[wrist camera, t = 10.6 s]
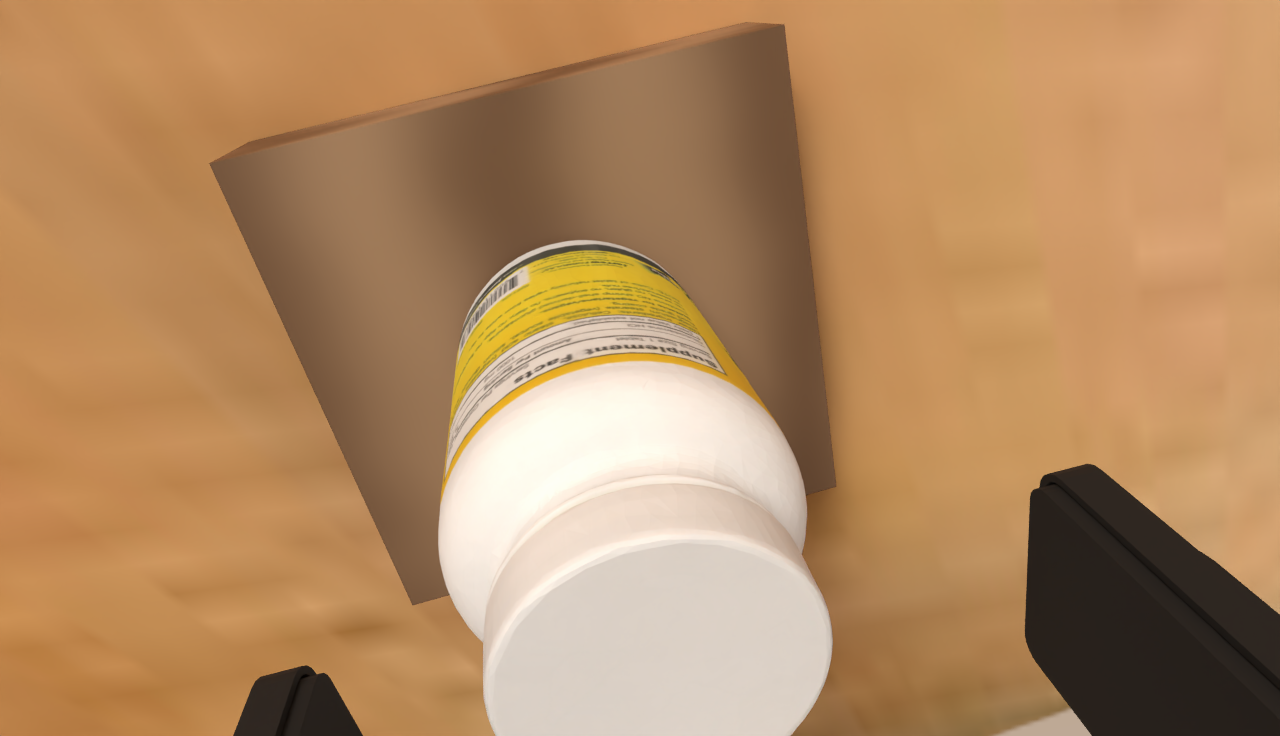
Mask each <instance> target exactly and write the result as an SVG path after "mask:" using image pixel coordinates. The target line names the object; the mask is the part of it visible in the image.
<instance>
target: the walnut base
mask: <svg viewBox="0 0 1280 736" xmlns="http://www.w3.org/2000/svg"><path fill="white" fill-rule="evenodd" d="M209 164H210V166H211V168H212V170H213V172H214V175H215V177H216V179H217V181H218V183H219V185H220V188H221V190H222V192H223V194H224V196H225V199H226V201H227V203H228V205H229V207H230V209H231V212H232V214H233V216H234V218H235V220H236V222H237V225H238V227H239V229H240V231H241V233H242V235H243V238H244V240H245V242H246V244H247V246H248V249H249V251H250V253H251V255H252V257H253V259H254V262H255V264H256V266H257V268H258V270H259V272H260V275H261V277H262V279H263V281H264V283H265V285H266V288H267V290H268V292H269V294H270V296H271V298H272V301H273V303H274V305H275V307H276V309H277V312H278V314H279V316H280V318H281V320H282V322H283V325H284V327H285V329H286V331H287V333H288V335H289V338H290V340H291V342H292V344H293V346H294V348H295V351H296V353H297V355H298V357H299V359H300V362H301V364H302V366H303V368H304V370H305V372H306V375H307V377H308V379H309V381H310V383H311V385H312V388H313V390H314V392H315V394H316V396H317V398H318V401H319V403H320V405H321V407H322V409H323V412H324V414H325V416H326V418H327V420H328V422H329V425H330V427H331V429H332V431H333V433H334V435H335V438H336V440H337V442H338V444H339V446H340V448H341V451H342V453H343V455H344V457H345V459H346V461H347V464H348V466H349V468H350V470H351V472H352V475H353V477H354V479H355V481H356V483H357V485H358V488H359V490H360V492H361V494H362V496H363V498H364V501H365V503H366V505H367V507H368V509H369V511H370V514H371V516H372V518H373V520H374V522H375V525H376V527H377V529H378V531H379V533H380V535H381V538H382V540H383V542H384V544H385V546H386V548H387V551H388V553H389V555H390V557H391V559H392V561H393V564H394V566H395V568H396V570H397V572H398V575H399V577H400V579H401V581H402V583H403V585H404V588H405V590H406V592H407V594H408V596H409V598H410V601H411V603H412V605H416V604H419V603H423V602H426V601H430V600H433V599H437V598H441V597H444V596H448V595H450V594H449V592H448V589H447V587H446V584H445V580H444V577H443V573H442V569H441V564H440V559H439V548H438V529H439V515H440V502H441V491H442V483H443V475H444V467H445V459H446V450H447V442H448V432H449V425H450V416H451V406H452V396H453V387H454V378H455V369H456V360H457V353H458V346H459V341H460V337H461V333H462V329H463V325H464V322H465V320H466V317H467V315H468V312H469V310H470V308H471V306H472V305H473V303H474V301H475V299H476V298H477V296H478V295H479V294H480V292H481V291H482V289H483V288H484V287H485V286H486V285H487V283H488V282H489V281H490V280H491V279H492V278H493V277H494V276H495V275H496V274H497V273H498V272H499V271H500V270H501V269H503V268H504V267H505V266H506V265H508V264H509V263H511V262H512V261H514V260H515V259H517V258H518V257H520V256H522V255H524V254H526V253H528V252H530V251H533V250H535V249H538V248H540V247H543V246H547V245H551V244H555V243H560V242H565V241H574V240H593V241H601V242H608V243H612V244H616V245H620V246H623V247H626V248H629V249H631V250H634V251H636V252H638V253H640V254H643V255H645V256H646V257H648V258H650V259H652V260H653V261H655V262H656V263H657V264H659V265H660V266H661V267H663V268H664V269H665V270H666V271H667V272H668V273H669V274H670V275H671V276H672V277H673V278H674V279H675V280H676V281H677V282H678V283H679V285H680V286H681V287H682V288H683V289H684V291H685V292H686V293H687V294H688V296H689V297H690V298H691V300H692V301H693V303H694V304H695V305H696V307H697V309H698V310H699V311H700V313H701V314H702V316H703V317H704V318H705V320H706V321H707V323H708V324H709V325H710V327H711V328H712V330H713V331H714V333H715V334H716V336H717V337H718V338H719V340H720V341H721V343H722V344H723V346H724V347H725V349H726V350H727V352H728V353H729V354H730V356H731V357H732V359H733V360H734V361H735V363H736V364H737V366H738V367H739V369H740V370H741V371H742V373H743V374H744V375H745V377H746V379H747V380H748V382H749V383H750V385H751V386H752V388H753V389H754V391H755V392H756V394H757V395H758V397H759V398H760V399H761V401H762V402H763V404H764V405H765V407H766V408H767V410H768V411H769V412H770V414H771V415H772V417H773V418H774V420H775V421H776V423H777V424H778V426H779V427H780V429H781V431H782V432H783V434H784V436H785V438H786V440H787V442H788V444H789V446H790V448H791V450H792V452H793V454H794V456H795V458H796V461H797V464H798V466H799V469H800V472H801V476H802V479H803V483H804V489H805V495H808V494H812V493H815V492H819V491H822V490H826V489H829V488H833V487H836V479H835V470H834V462H833V453H832V444H831V435H830V426H829V417H828V408H827V399H826V390H825V382H824V373H823V364H822V355H821V346H820V337H819V328H818V319H817V310H816V302H815V293H814V284H813V275H812V266H811V257H810V248H809V239H808V230H807V222H806V213H805V204H804V195H803V186H802V177H801V168H800V159H799V150H798V142H797V133H796V124H795V115H794V106H793V97H792V88H791V79H790V70H789V62H788V53H787V44H786V35H785V26H784V24H766V23H748V22H745V23H741V24H737V25H733V26H729V27H725V28H720V29H716V30H712V31H708V32H704V33H700V34H696V35H691V36H687V37H683V38H679V39H675V40H671V41H666V42H662V43H658V44H654V45H650V46H646V47H642V48H637V49H633V50H629V51H625V52H621V53H617V54H612V55H608V56H604V57H600V58H596V59H592V60H588V61H583V62H579V63H575V64H571V65H567V66H563V67H558V68H554V69H550V70H546V71H542V72H538V73H534V74H529V75H525V76H521V77H517V78H513V79H509V80H505V81H500V82H496V83H492V84H488V85H484V86H480V87H475V88H471V89H467V90H463V91H459V92H455V93H451V94H446V95H442V96H438V97H434V98H430V99H426V100H421V101H417V102H413V103H409V104H405V105H401V106H397V107H392V108H388V109H384V110H380V111H376V112H372V113H367V114H363V115H359V116H355V117H351V118H347V119H343V120H338V121H334V122H330V123H326V124H322V125H318V126H313V127H309V128H305V129H301V130H297V131H293V132H289V133H284V134H280V135H276V136H272V137H268V138H264V139H259V140H255V141H251V142H248V143H247V144H245V145H243V146H241V147H239V148H237V149H235V150H234V151H232V152H230V153H228V154H226V155H224V156H222V157H221V158H219V159H217V160H215V161H213V162H211V163H209Z"/></svg>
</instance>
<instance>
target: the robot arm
mask: <svg viewBox="0 0 1280 736" xmlns="http://www.w3.org/2000/svg"><path fill="white" fill-rule="evenodd" d="M1025 638H1026V642H1027V645H1028V648H1029V650H1030V652H1031V654H1032V656H1033V658H1034V660H1035V661H1036V663H1037V664H1038V665H1039V667H1040V668H1041V669H1042V671H1043V672H1044V673H1045V675H1046V676H1047V677H1048V679H1049V680H1050V681H1051V682H1052V684H1053V685H1054V686H1055V688H1056V689H1057V690H1058V692H1059V693H1060V694H1061V696H1062V697H1063V698H1064V700H1065V701H1066V702H1067V703H1068V705H1069V706H1070V707H1071V709H1072V710H1073V711H1074V713H1075V714H1076V715H1077V717H1078V718H1079V719H1080V720H1081V722H1082V723H1083V724H1084V726H1085V727H1086V728H1087V730H1088V731H1089V732H1090V734H1091V735H1092V736H1280V615H1279V614H1278V613H1277V612H1276V611H1275V610H1273V609H1272V608H1271V607H1270V606H1268V605H1267V604H1266V603H1265V602H1264V601H1262V600H1261V599H1260V598H1259V597H1258V596H1256V595H1255V594H1254V593H1253V592H1252V591H1250V590H1249V589H1248V588H1247V587H1245V586H1244V585H1243V584H1242V583H1241V582H1239V581H1238V580H1237V579H1236V578H1235V577H1233V576H1232V575H1231V574H1230V573H1229V572H1227V571H1226V570H1225V569H1224V568H1222V567H1221V566H1220V565H1219V564H1218V563H1216V562H1215V561H1214V560H1212V559H1211V558H1209V557H1208V556H1206V555H1205V554H1203V553H1202V552H1200V551H1198V550H1197V549H1196V548H1195V547H1194V546H1192V545H1191V544H1190V543H1189V542H1188V541H1186V540H1185V539H1184V538H1183V537H1181V536H1180V535H1179V534H1178V533H1177V532H1175V531H1174V530H1173V529H1172V528H1171V527H1169V526H1168V525H1167V524H1166V523H1165V522H1163V521H1162V520H1161V519H1160V518H1159V517H1157V516H1156V515H1155V514H1154V513H1153V512H1151V511H1150V510H1149V509H1148V508H1147V507H1145V506H1144V505H1143V504H1142V503H1141V502H1139V501H1138V500H1137V499H1136V498H1135V497H1133V496H1132V495H1131V494H1130V493H1129V492H1127V491H1126V490H1125V489H1124V488H1123V487H1121V486H1120V485H1119V484H1118V483H1117V482H1115V481H1114V480H1113V479H1112V478H1110V477H1109V476H1108V475H1107V474H1106V473H1104V472H1103V471H1102V470H1101V469H1099V468H1098V467H1096V466H1095V465H1091V464H1085V465H1081V466H1077V467H1073V468H1069V469H1065V470H1062V471H1058V472H1054V473H1050V474H1047V475H1044V476H1043V478H1042V479H1041V482H1040V487H1039V488H1037V489H1034V490H1033V491H1032V493H1031V496H1030V514H1029V540H1028V565H1027V591H1026V617H1025ZM233 736H363V735H362V733H361V731H360V730H359V728H358V726H357V724H356V723H355V721H354V719H353V717H352V716H351V714H350V712H349V710H348V709H347V707H346V705H345V703H344V702H343V700H342V698H341V696H340V695H339V693H338V691H337V689H336V688H335V686H334V684H333V682H332V681H331V679H330V678H329V676H328V675H327V674H325V673H321V674H316V673H315V672H314V670H313V669H312V668H311V667H309V666H301V667H297V668H293V669H289V670H285V671H281V672H277V673H274V674H270V675H266V676H262V677H260V678H259V679H258V680H256V681H255V683H254V685H253V687H252V689H251V691H250V694H249V697H248V699H247V702H246V704H245V707H244V709H243V712H242V715H241V717H240V720H239V722H238V725H237V727H236V730H235V733H234V735H233Z"/></svg>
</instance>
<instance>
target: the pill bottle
mask: <svg viewBox="0 0 1280 736" xmlns="http://www.w3.org/2000/svg"><path fill="white" fill-rule="evenodd" d="M806 523H807V503H806V495H805V489H804V483H803V479H802V476H801V472H800V469H799V466H798V464H797V461H796V458H795V456H794V454H793V452H792V450H791V448H790V446H789V444H788V442H787V440H786V438H785V436H784V434H783V432H782V431H781V429H780V427H779V426H778V424H777V423H776V421H775V420H774V418H773V417H772V415H771V414H770V412H769V411H768V410H767V408H766V407H765V405H764V404H763V402H762V401H761V399H760V398H759V397H758V395H757V394H756V392H755V391H754V389H753V388H752V386H751V385H750V383H749V382H748V380H747V379H746V377H745V375H744V374H743V373H742V371H741V370H740V369H739V367H738V366H737V364H736V363H735V361H734V360H733V359H732V357H731V356H730V354H729V353H728V352H727V350H726V349H725V347H724V346H723V344H722V343H721V341H720V340H719V338H718V337H717V336H716V334H715V333H714V331H713V330H712V328H711V327H710V325H709V324H708V323H707V321H706V320H705V318H704V317H703V316H702V314H701V313H700V311H699V310H698V309H697V307H696V305H695V304H694V303H693V301H692V300H691V298H690V297H689V296H688V294H687V293H686V292H685V291H684V289H683V288H682V287H681V286H680V285H679V283H678V282H677V281H676V280H675V279H674V278H673V277H672V276H671V275H670V274H669V273H668V272H667V271H666V270H665V269H664V268H663V267H661V266H660V265H659V264H657V263H656V262H655V261H653V260H652V259H650V258H648V257H646V256H645V255H643V254H640V253H638V252H636V251H634V250H631V249H629V248H626V247H623V246H620V245H616V244H612V243H608V242H601V241H593V240H574V241H565V242H560V243H555V244H551V245H547V246H543V247H540V248H538V249H535V250H533V251H530V252H528V253H526V254H524V255H522V256H520V257H518V258H517V259H515V260H514V261H512V262H511V263H509V264H508V265H506V266H505V267H504V268H503V269H501V270H500V271H499V272H498V273H497V274H496V275H495V276H494V277H493V278H492V279H491V280H490V281H489V282H488V283H487V285H486V286H485V287H484V288H483V289H482V291H481V292H480V294H479V295H478V296H477V298H476V299H475V301H474V303H473V305H472V306H471V308H470V310H469V312H468V315H467V317H466V320H465V322H464V325H463V329H462V333H461V337H460V341H459V346H458V353H457V360H456V369H455V378H454V387H453V396H452V406H451V416H450V425H449V432H448V442H447V450H446V459H445V467H444V475H443V483H442V491H441V502H440V515H439V529H438V548H439V559H440V564H441V569H442V573H443V577H444V580H445V584H446V587H447V589H448V592H449V594H450V596H451V599H452V601H453V603H454V605H455V607H456V609H457V610H458V612H459V613H460V615H461V616H462V618H463V619H464V621H465V622H466V624H467V625H468V627H469V628H470V629H471V630H472V632H473V633H474V634H475V635H476V636H477V637H478V638H479V639H480V640H481V641H482V642H483V691H484V702H485V706H486V711H487V715H488V719H489V721H490V724H491V726H492V729H493V731H494V733H495V735H496V736H790V735H791V734H792V733H793V732H794V731H795V730H796V728H797V727H798V726H799V725H800V724H801V722H802V721H803V720H804V719H805V717H806V716H807V714H808V713H809V712H810V710H811V709H812V707H813V705H814V704H815V702H816V700H817V698H818V696H819V694H820V692H821V690H822V688H823V686H824V684H825V680H826V677H827V674H828V670H829V667H830V662H831V656H832V646H833V638H832V626H831V620H830V616H829V612H828V609H827V605H826V603H825V600H824V597H823V595H822V593H821V591H820V590H819V588H818V586H817V584H816V582H815V580H814V578H813V576H812V574H811V572H810V570H809V568H808V566H807V564H806V562H805V560H804V558H803V556H802V551H803V547H804V542H805V536H806Z"/></svg>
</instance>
